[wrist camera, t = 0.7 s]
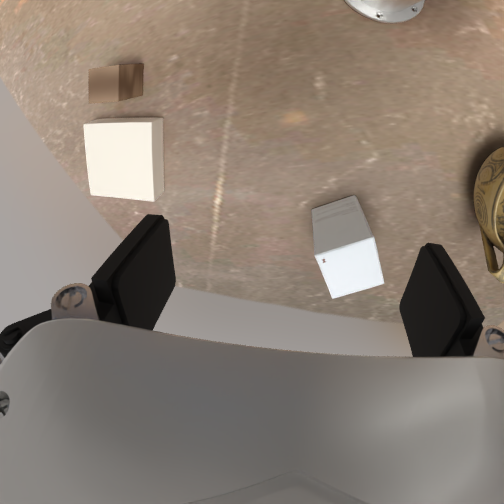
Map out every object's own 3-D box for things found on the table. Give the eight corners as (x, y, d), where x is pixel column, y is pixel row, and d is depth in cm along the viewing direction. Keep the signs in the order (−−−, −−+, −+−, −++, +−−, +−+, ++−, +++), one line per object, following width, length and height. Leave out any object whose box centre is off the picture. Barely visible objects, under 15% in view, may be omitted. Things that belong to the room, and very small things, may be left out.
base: (98, 118, 41) (83, 124, 38) (163, 117, 40) (151, 122, 37) (103, 185, 48) (90, 195, 44) (164, 191, 47) (154, 201, 43)
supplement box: (325, 247, 48) (330, 300, 38) (310, 208, 45) (312, 254, 35) (368, 234, 46) (385, 285, 35) (356, 193, 42) (374, 236, 32)
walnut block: (115, 66, 36) (88, 69, 30) (143, 63, 36) (118, 64, 30) (115, 96, 39) (88, 103, 33) (142, 95, 38) (118, 101, 33)
